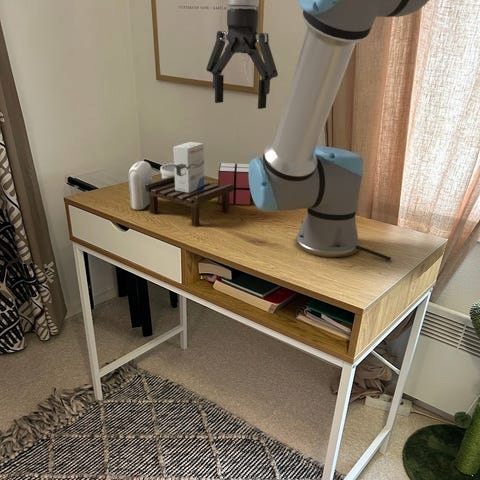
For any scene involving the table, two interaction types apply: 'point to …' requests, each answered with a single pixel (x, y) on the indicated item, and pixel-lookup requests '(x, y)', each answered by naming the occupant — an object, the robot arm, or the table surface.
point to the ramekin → (167, 170)
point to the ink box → (189, 166)
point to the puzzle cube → (235, 182)
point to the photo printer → (139, 184)
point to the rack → (187, 196)
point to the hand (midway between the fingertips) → (239, 105)
